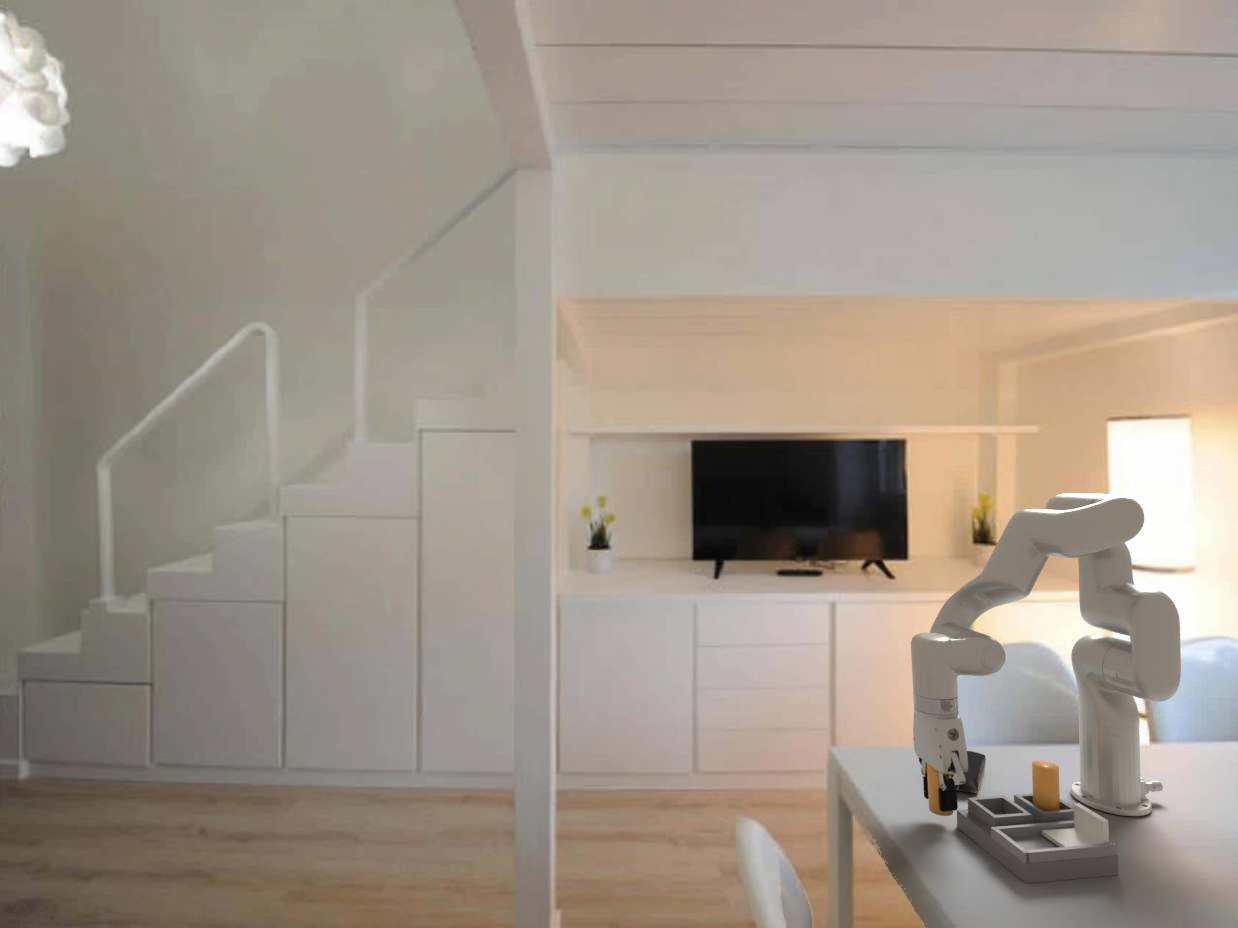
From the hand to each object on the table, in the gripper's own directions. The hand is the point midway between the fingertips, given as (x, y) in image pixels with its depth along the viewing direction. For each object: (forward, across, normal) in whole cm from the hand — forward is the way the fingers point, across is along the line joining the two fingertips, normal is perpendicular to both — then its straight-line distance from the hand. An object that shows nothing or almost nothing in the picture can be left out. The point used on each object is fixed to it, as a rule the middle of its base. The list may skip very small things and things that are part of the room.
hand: (940, 802), depth 122 cm
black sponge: (+5, +16, -15) cm, 22 cm away
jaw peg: (+1, 0, 0) cm, 1 cm away
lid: (+1, -15, -14) cm, 20 cm away
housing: (+4, -10, -10) cm, 15 cm away
